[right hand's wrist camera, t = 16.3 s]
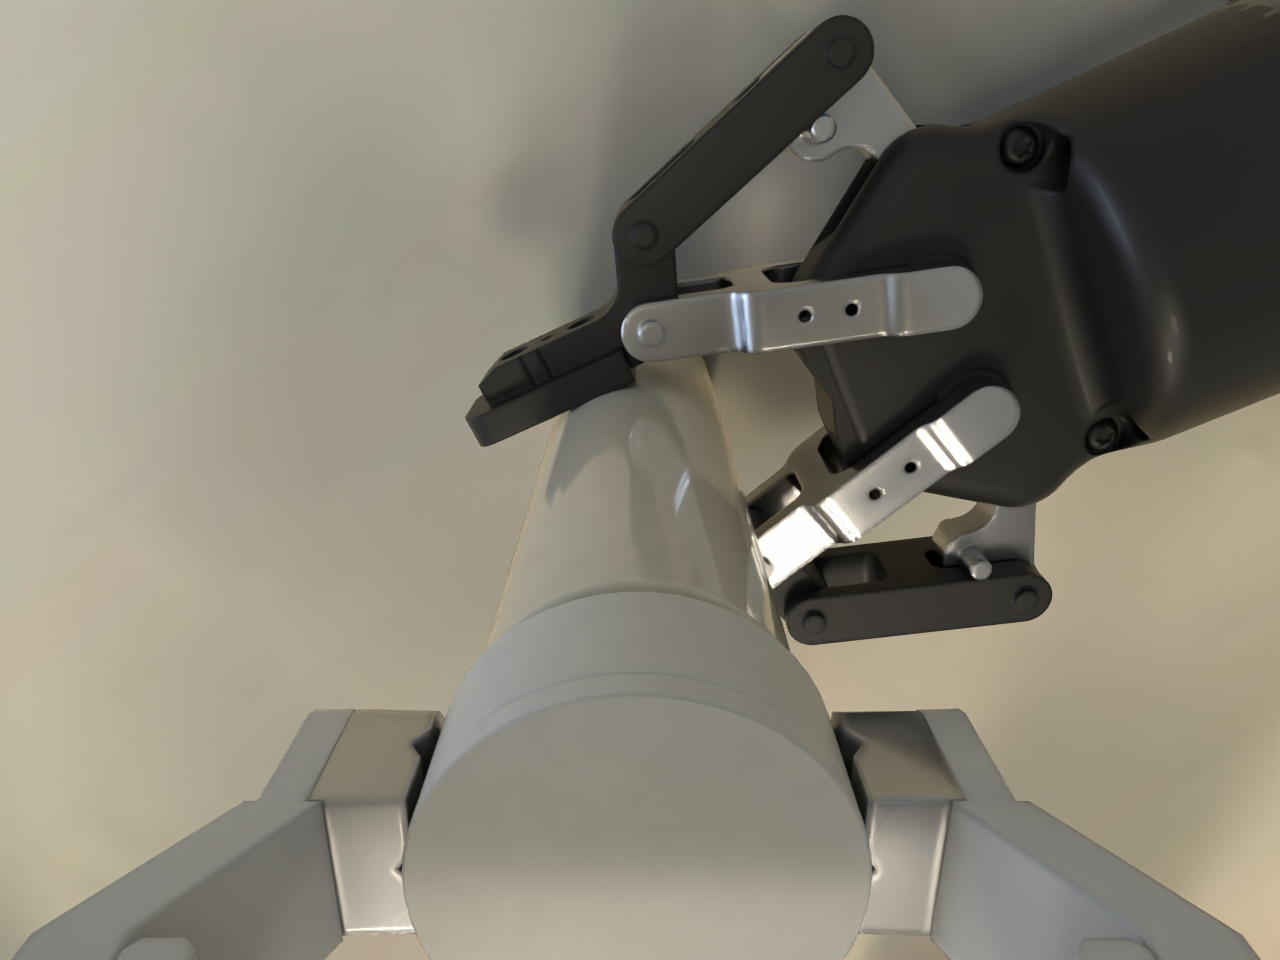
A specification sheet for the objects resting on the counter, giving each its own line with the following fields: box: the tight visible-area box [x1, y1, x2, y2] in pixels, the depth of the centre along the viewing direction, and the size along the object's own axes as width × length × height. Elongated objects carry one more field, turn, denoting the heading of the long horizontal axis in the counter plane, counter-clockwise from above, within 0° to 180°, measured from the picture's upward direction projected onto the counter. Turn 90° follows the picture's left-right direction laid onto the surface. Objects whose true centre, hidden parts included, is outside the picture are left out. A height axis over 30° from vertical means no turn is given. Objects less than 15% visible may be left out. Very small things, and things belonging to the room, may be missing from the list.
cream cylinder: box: [486, 356, 790, 651], centre depth 18 cm, size 4×4×18 cm
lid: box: [402, 592, 872, 960], centre depth 10 cm, size 5×5×2 cm
